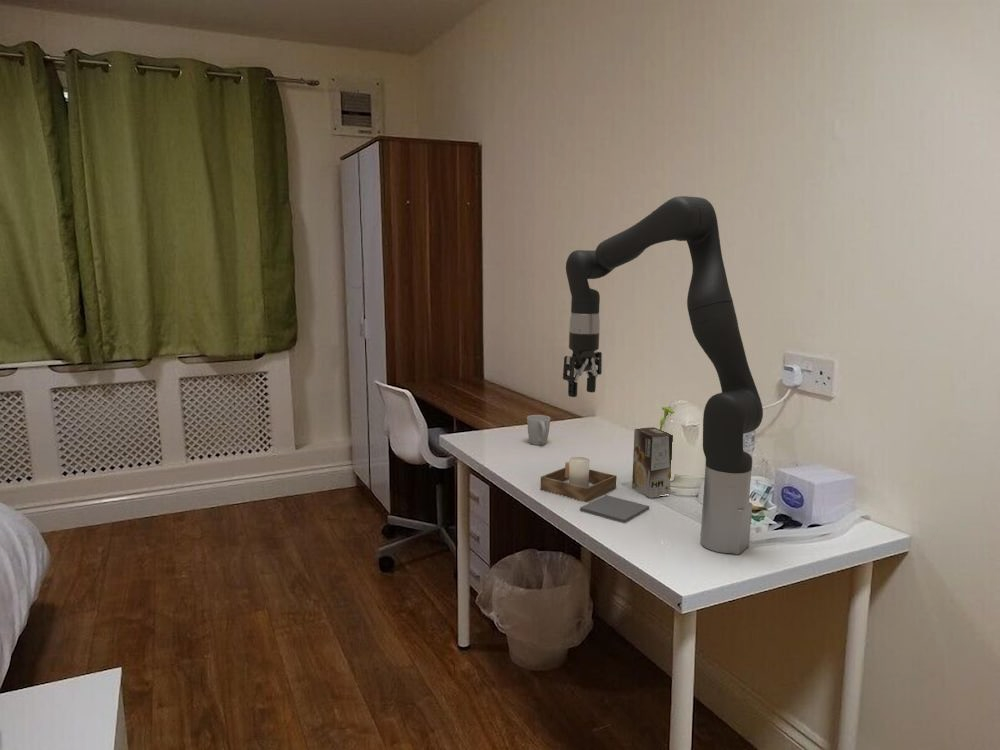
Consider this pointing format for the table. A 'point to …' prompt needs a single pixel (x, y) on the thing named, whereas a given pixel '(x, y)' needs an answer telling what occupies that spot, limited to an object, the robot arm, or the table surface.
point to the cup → (538, 429)
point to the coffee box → (652, 461)
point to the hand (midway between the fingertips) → (581, 394)
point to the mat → (615, 508)
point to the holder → (600, 487)
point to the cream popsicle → (578, 471)
